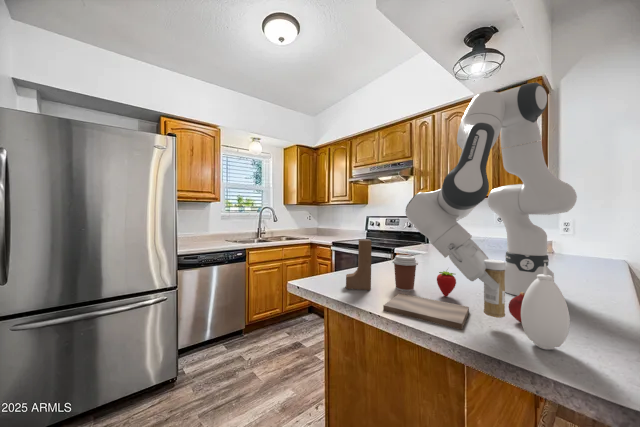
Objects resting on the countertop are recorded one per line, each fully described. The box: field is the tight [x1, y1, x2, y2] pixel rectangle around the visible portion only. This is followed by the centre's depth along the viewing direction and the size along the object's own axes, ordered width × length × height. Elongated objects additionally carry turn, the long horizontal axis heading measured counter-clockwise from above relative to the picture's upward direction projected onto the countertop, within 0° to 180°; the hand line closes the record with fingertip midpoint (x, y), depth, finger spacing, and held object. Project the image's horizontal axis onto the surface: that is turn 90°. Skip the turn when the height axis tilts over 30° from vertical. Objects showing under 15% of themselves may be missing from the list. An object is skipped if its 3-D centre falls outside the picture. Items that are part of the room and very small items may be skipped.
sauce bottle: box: [521, 263, 571, 351], centre depth 55 cm, size 8×8×18 cm
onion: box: [508, 292, 525, 324], centre depth 67 cm, size 6×6×8 cm
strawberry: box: [436, 268, 457, 298], centre depth 88 cm, size 6×8×10 cm
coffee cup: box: [391, 254, 419, 292], centre depth 96 cm, size 9×9×12 cm
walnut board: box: [382, 292, 470, 331], centre depth 74 cm, size 14×20×2 cm
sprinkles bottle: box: [483, 258, 506, 319], centre depth 64 cm, size 5×5×14 cm
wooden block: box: [345, 238, 372, 291], centre depth 96 cm, size 9×4×18 cm, turn 84°
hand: (497, 285), depth 64 cm, fingers closed on sprinkles bottle, 4 cm apart
